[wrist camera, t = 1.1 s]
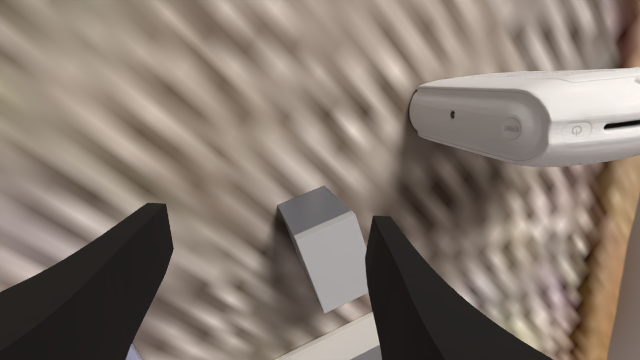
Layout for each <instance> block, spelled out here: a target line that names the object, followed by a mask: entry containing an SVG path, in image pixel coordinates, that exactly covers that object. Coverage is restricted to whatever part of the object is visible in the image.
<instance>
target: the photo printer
mask: <svg viewBox="0 0 640 360" xmlns="http://www.w3.org/2000/svg"><path fill="white" fill-rule="evenodd" d="M409 113H410V120H411V123H412V125H413V127H414V128H415V129H416V130H417V131H418V136H420V137H421V138H424V139H427V140H430V141H434V142H437V143H440V144H444V145H447V146H451V147H455V148H458V149H462V150H465V151H469V152H472V153H476V154H479V155H483V156H486V157H490V158H494V159H497V160H501V161H505V162H508V163H512V164H516V165H523V166H531V167H560V166H573V165H584V164H592V163H599V162H606V161H611V160H618V159H623V158H628V157H633V156H637V155H640V67H635V68H625V69H600V70H572V71H532V72H525V71H520V72H507V73H494V74H484V75H474V76H466V77H458V78H450V79H444V80H437V81H433V82H429V83H426V84H423V85H420V86H418V90H417V92H416V93H415V94H414V96H413V98H412V100H411V104H410V111H409Z"/></svg>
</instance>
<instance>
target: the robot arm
mask: <svg viewBox="0 0 640 360" xmlns="http://www.w3.org/2000/svg"><path fill="white" fill-rule="evenodd" d="M173 249H174V248H173V242H172V236H171V231H170V225H169V219H168V213H167V207H166V204H161V203H147V204H145V205H144V206H142V207H141V208H139V209H138V210H136V211H135V212H134V213H132V214H131V215H130V216H128V217H127V218H125V219H124V220H123V221H121V222H120V223H118V224H117V225H116V226H114V227H113V228H111V229H110V230H108V231H107V232H106V233H104V234H103V235H101V236H100V237H98V238H97V239H95V240H94V241H92V242H91V243H89V244H88V245H86V246H85V247H83V248H81V249H80V250H78V251H77V252H75V253H74V254H72V255H71V256H69V257H67V258H66V259H64V260H62V261H60V262H59V263H57V264H55V265H53V266H52V267H50V268H48V269H46V270H44V271H42V272H41V273H39V274H37V275H35V276H33V277H31V278H29V279H27V280H25V281H23V282H21V283H19V284H16V285H14V286H12V287H10V288H8V289H6V290H4V291H2V292H0V360H142V358H141V357H140V355H139V354H138V352H137V351H136V349H135V347H134V346H133V344H132V342H133V340H134V337H135V335H136V333H137V331H138V329H139V327H140V325H141V323H142V321H143V319H144V317H145V315H146V313H147V311H148V309H149V307H150V305H151V303H152V301H153V299H154V297H155V295H156V292H157V290H158V288H159V286H160V284H161V282H162V280H163V278H164V276H165V273H166V271H167V268H168V265H169V262H170V259H171V255H172V252H173ZM365 268H366V279H367V287H368V292H369V297H370V301H371V306H372V311H373V315H374V320H375V325H376V329H377V334H378V339H379V344H380V349H381V356H382V360H553V359H551V358H550V357H548V356H546V355H545V354H543V353H541V352H539V351H538V350H536V349H534V348H533V347H531V346H529V345H528V344H526V343H524V342H523V341H521V340H520V339H518V338H517V337H515V336H514V335H512V334H511V333H509V332H508V331H506V330H505V329H503V328H502V327H500V326H499V325H497V324H496V323H495V322H493V321H492V320H490V319H489V318H488V317H486V316H485V315H484V314H483V313H481V312H480V311H479V310H477V309H476V308H475V307H474V306H472V305H471V304H470V303H469V302H467V301H466V300H465V299H464V298H463V297H462V296H460V295H459V294H458V293H457V292H456V291H455V290H454V289H453V288H452V287H450V286H449V285H448V284H447V283H446V282H445V281H444V280H443V279H442V278H441V277H440V276H439V275H438V274H437V273H436V272H435V271H434V270H433V269H432V267H431V266H430V265H429V264H428V263H427V262H426V261H425V260H424V259H423V257H422V256H421V255H420V254H419V253H418V251H417V250H416V249H415V248H414V247H413V245H412V244H411V243H410V242H409V240H408V239H407V238H406V236H405V235H404V234H403V233H402V231H401V230H400V229H399V227H398V226H397V225H396V223H395V222H394V221H393V219H392V218H391V217H388V216H373V219H372V224H371V229H370V234H369V239H368V245H367V250H366V255H365Z"/></svg>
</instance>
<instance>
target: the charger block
mask: <svg viewBox="0 0 640 360" xmlns="http://www.w3.org/2000/svg"><path fill="white" fill-rule="evenodd" d="M278 208H279V210H280V213H281V215H282V218H283V220H284V223H285V225H286V228H287V230H288V233H289V235H290V238H291V240H292V243H293V245H294V248H295V250H296V253H297V255H298V258H299V260H300V263H301V265H302V267H303V269H304V272H305V274H306V276H307V278H308V280H309V282H310V284H311V286H312V288H313V290H314V292H315V294H316V296H317V298H318V300H319V303H320V305H321V307H322V309H323V311H324V313H327V312H329V311H331V310H333V309H335V308H337V307H339V306H341V305H343V304H345V303H348V302H350V301H352V300H354V299H356V298H358V297H360V296H362V295H364V294H366V293H368V287H367V279H366V268H365V255H366V250H367V249H366V246H365V243H364V240H363V237H362V234H361V230H360V227H359V224H358V221H357V218H356V215H355V214H354V213H353V212H352V211H351V210H350V209H349V208H348V207H347V206H346V205H345V204H344V203H343V202H341V201H340V200H339V199H338V198H337V197H336V196H335V195H334V194H333V193H332V192H331V191H330V190H329V189H327V188H326V187H325V186H322V187H320V188H317V189H315V190H312V191H310V192H308V193H305V194H303V195H300V196H298V197H296V198H293V199H291V200H288V201H286V202H284V203H281V204H279V205H278Z"/></svg>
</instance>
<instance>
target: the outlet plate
mask: <svg viewBox="0 0 640 360" xmlns="http://www.w3.org/2000/svg"><path fill="white" fill-rule="evenodd" d="M275 360H382V356H381V349H380V344H379V339H378V334H377V329H376V325H375V320H374V315H373V312H371V313H369V314H367V315H365V316H363V317H360V318H358V319H356V320H354V321H352V322H350V323H348V324H346V325H344V326H342V327H340V328H338V329H336V330H334V331H332V332H330V333H328V334H326V335H324V336H322V337H320V338H318V339H316V340H314V341H311V342H309V343H307V344H305V345H303V346H301V347H299V348H297V349H295V350H293V351H291V352H289V353H287V354H285V355H283V356H281V357H279V358H277V359H275Z"/></svg>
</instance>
